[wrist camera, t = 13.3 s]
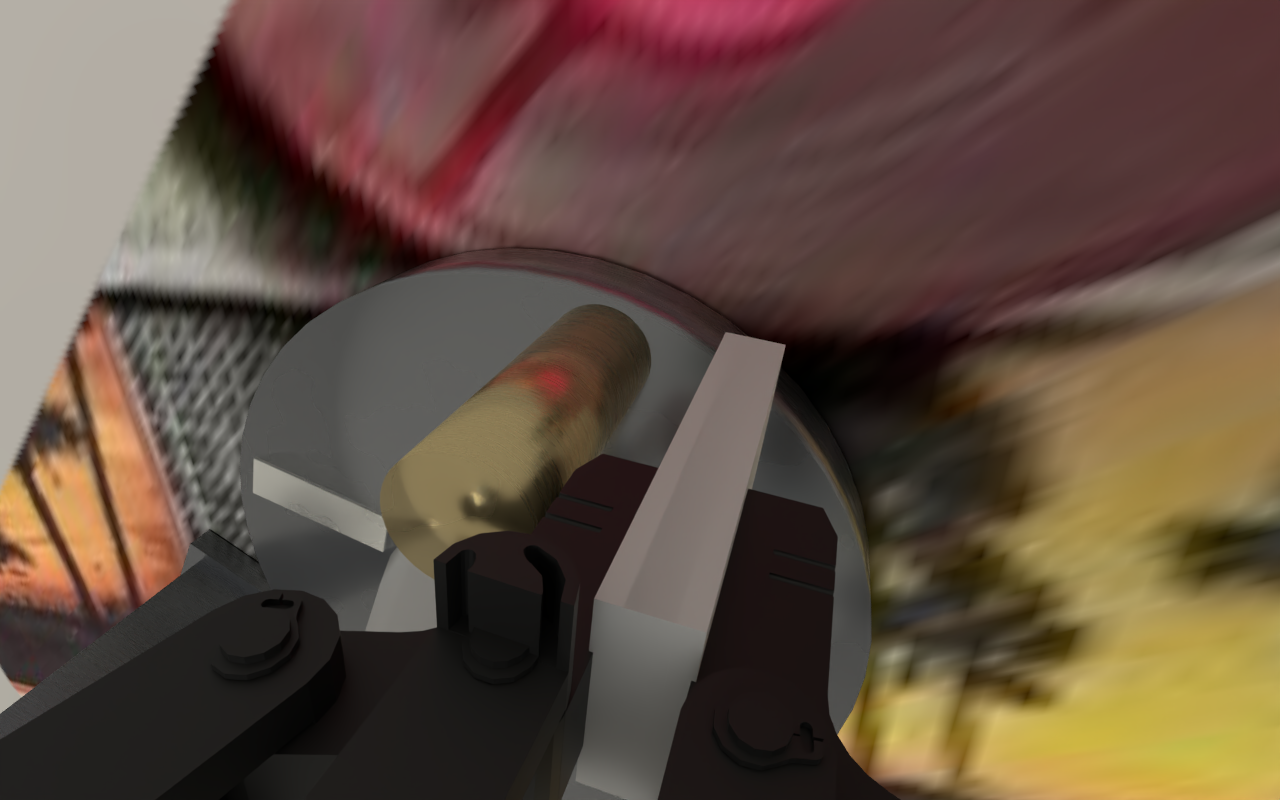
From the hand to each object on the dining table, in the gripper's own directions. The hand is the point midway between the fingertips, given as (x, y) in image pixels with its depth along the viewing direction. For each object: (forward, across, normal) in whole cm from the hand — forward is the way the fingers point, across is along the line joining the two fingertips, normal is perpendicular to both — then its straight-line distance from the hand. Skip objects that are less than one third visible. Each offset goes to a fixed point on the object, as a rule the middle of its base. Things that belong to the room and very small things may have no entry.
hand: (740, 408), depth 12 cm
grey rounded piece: (+4, -5, -8) cm, 10 cm away
